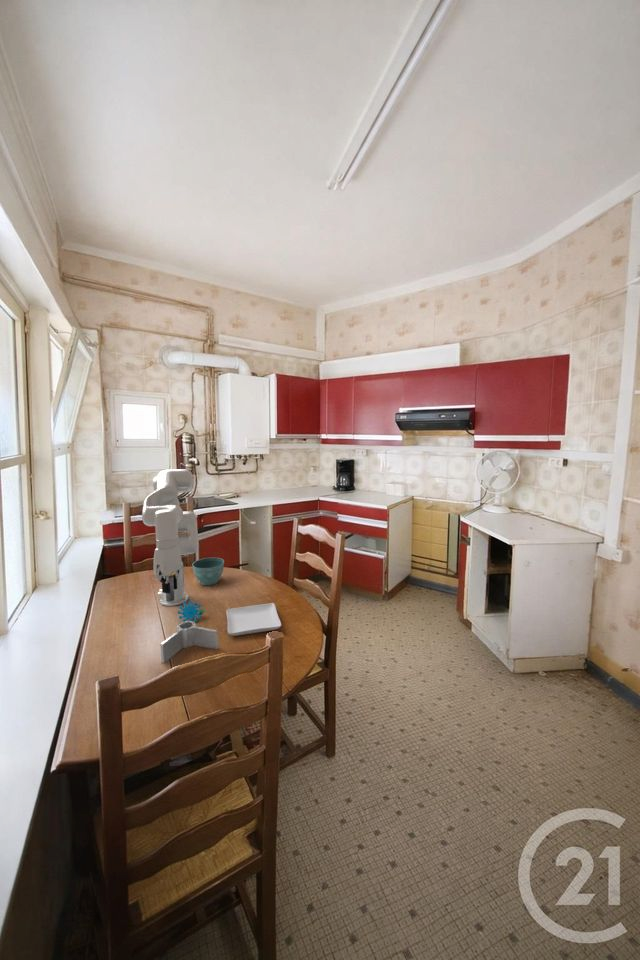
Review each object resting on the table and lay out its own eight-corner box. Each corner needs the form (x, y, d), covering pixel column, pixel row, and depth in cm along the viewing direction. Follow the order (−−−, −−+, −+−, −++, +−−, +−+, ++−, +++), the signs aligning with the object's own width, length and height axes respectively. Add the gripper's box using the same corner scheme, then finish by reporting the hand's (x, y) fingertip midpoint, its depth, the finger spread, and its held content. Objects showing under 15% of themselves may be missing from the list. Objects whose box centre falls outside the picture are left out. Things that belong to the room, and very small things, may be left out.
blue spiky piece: (177, 623, 155) (178, 599, 161) (175, 628, 159) (177, 605, 165) (204, 622, 159) (205, 599, 165) (203, 626, 164) (203, 604, 170)
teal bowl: (212, 590, 192) (211, 569, 190) (186, 585, 197) (185, 565, 196) (230, 578, 207) (230, 559, 205) (206, 574, 212) (205, 556, 211)
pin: (160, 601, 140) (158, 572, 138) (169, 596, 144) (168, 568, 143) (171, 603, 138) (169, 574, 137) (179, 598, 143) (178, 569, 141)
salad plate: (228, 641, 146) (227, 632, 145) (226, 615, 166) (226, 608, 166) (282, 633, 152) (282, 625, 151) (274, 609, 172) (274, 602, 171)
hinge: (154, 661, 133) (153, 642, 132) (185, 636, 148) (184, 620, 147) (195, 670, 128) (194, 650, 127) (222, 644, 143) (221, 626, 142)
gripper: (174, 536, 147) (176, 581, 150) (142, 548, 132) (145, 598, 134) (190, 538, 145) (192, 583, 147) (159, 550, 130) (162, 601, 132)
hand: (169, 590), depth 141 cm, fingers closed on pin, 3 cm apart
